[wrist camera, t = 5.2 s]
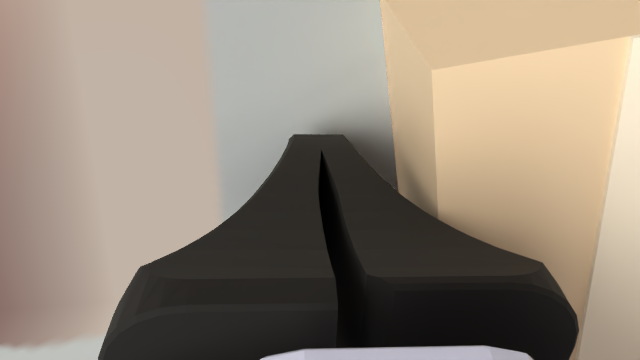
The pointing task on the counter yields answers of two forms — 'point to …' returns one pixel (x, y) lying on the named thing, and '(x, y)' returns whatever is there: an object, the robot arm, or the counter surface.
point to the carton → (529, 140)
